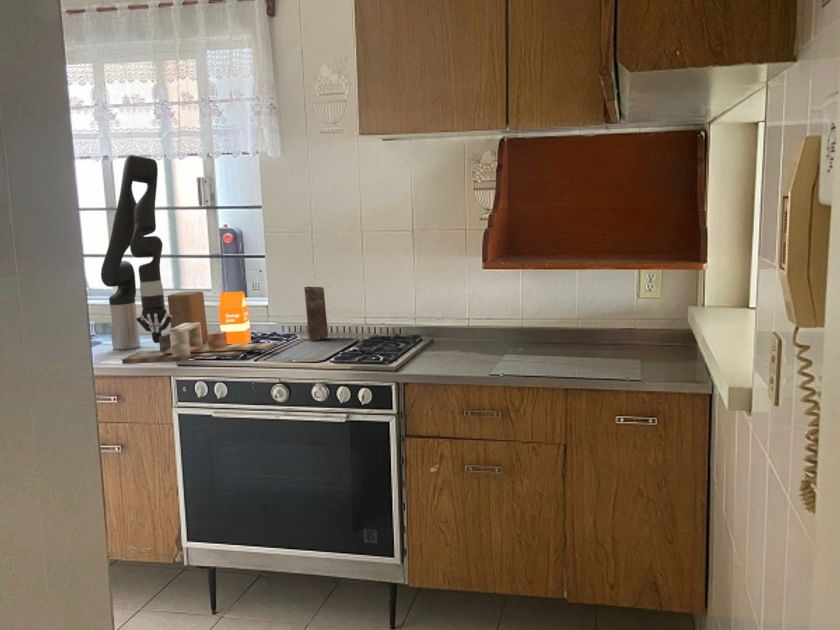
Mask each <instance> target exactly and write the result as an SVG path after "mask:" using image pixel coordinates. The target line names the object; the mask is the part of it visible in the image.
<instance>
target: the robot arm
mask: <svg viewBox="0 0 840 630" xmlns="http://www.w3.org/2000/svg"><path fill="white" fill-rule="evenodd" d="M158 170H159V169H158V162H157V160H155V159H154V158H151V157H145V156H139V155H134V154H129V155H127V156H126V157H125V161H124V165H123V169H122V177H121V186H120V192H119V196H118V201H117V207H116V210H115V214H114V219H113V223H112V224H113V225H112V231H111V235H110V239H109V242H108V247H107V250H106V253H105V256H104V259H103V263H102V265H101V269H100V279H101V281H102V283H103V285H104V286H106V287H109V288H113V287H114V288H115V287H117V290H116V291H115V293H113V294H112V295H110V297H109V298H108V301H109V309H110V317H111V318H110V319H111V324H110V325H109V328H110V336H111V343H112V345H111V346H112V350H122V351H123V350H130V349H136V348H139V347H141V339H140V330H139V329H140V328H139V324H140V325H141V326H142V329H144V330H145V331H146V332H150V333H151V338H152V341H153V342H154V344H159V337H160V336H163V335H162V331H164V330H166V329H167V328H168V326H169V325H170V322H171V320H172V318H173V316H172V315H169V312H167V309H166V307H165V306H166V305H165V298H164V289H163V283H162V276H161V266H160V265H161V258H162V252H163V248H164V247H163V242H162V239H161V238H160V237H159V236H157V235H152V234H153V233H155V231H156V229H157V224H156V196H157V189H158V188H157V187H158V172H159V171H158ZM134 182H135V183H141V184H146V189H145V192H144V193H143V195H142V196H141V197H140V199H138V202H137V201H136V199H135V196H134V193H133V183H134ZM148 235H151V236H148ZM128 249H129V251H130V254H132V255H133V257H135V258H150V257H152V259H151V261H149V262H146V263H143V264H141V265H139V266H138V277H139V291H140V300H141V308H142V311H141V315H140V316H139V317H138V312H137V306H136V295H137V288H136V274H135V273H136V272H135V269H134V265H133V264H132V263H131V262H130V261H128V260H123V258H124V255H125V254H126V251H127V250H128Z"/></svg>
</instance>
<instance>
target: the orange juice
mask: <svg viewBox="0 0 840 630" xmlns="http://www.w3.org/2000/svg"><path fill="white" fill-rule="evenodd" d="M219 294H220V295H219V306H218V313H219V314H218V315H219V316H218V317H219V324H220V325H219V326H220V331H226V337H227V344H247V343H248V342H249V341H251V342H252V339H251V337H252V336H251V328H250V327H251V325H250V316H249V307H248V306H249V305H248V302H247V299H246V296H245V293H244V291H229V292H220V293H219Z"/></svg>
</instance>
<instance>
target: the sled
mask: <svg viewBox="0 0 840 630" xmlns="http://www.w3.org/2000/svg"><path fill="white" fill-rule="evenodd" d="M207 337H208V342H207V345H203V346H197V347H190V352H206V351H228V350H249V349H253V350H266V349H267V350H268V349H273V347H275V346H276V345H275V342H265V343H263V342H262V343H250V344H239V345H227V337H226V331H221V330H219V331H211V332H209V333H207ZM158 344H159V350H160V351H162V354H164V353H172V344H171V336H170V332H169V333H165V334H163V335H162V336H160V337H159V343H158Z"/></svg>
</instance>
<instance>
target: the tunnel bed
mask: <svg viewBox="0 0 840 630" xmlns="http://www.w3.org/2000/svg"><path fill="white" fill-rule="evenodd" d="M169 333H170V339H171V348H172V353H164V354H162V351H160V349H158V350H155V349H153V350H138V351H136V352H134V353H132V354H130V355H128V356H126V357H124V358H122V359H121V362H122V365H123V364H139V363H140V364H141V363H143V364H144V363H163V362H164V363H166V362H167V363H169V362H182V361H181V360H189V359H193V358H195V357H212V356H241V355H242V354H243V353H245V352H246V351H248V350H228V351H206V352H190V347H197V346H204V343H203V344H202V335H201V325H200V322H196V323H183V324H181V325H179V326H177V327H174V328H172V329H171V328H169ZM189 361H190V360H189Z"/></svg>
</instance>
